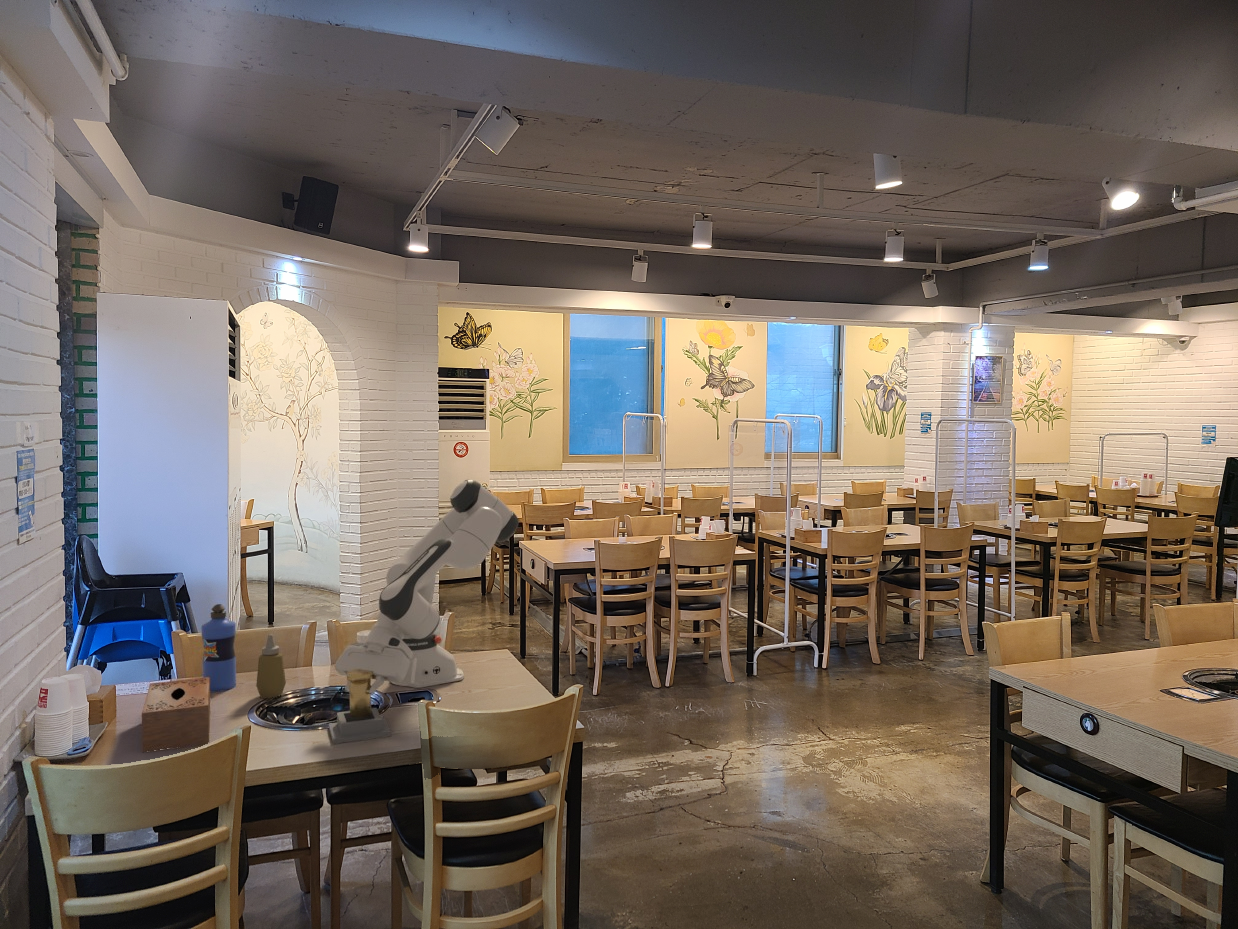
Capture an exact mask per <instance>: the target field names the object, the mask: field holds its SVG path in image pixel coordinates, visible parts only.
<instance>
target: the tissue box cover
mask: <svg viewBox="0 0 1238 929" xmlns="http://www.w3.org/2000/svg"><path fill="white" fill-rule="evenodd" d="M142 708H143V709H142V712H141V730H142V731H141V733H142V734H141V735H142V737H141V738H142V740H141V741H142V744H141V745H142V753H143V752H147V751H154V750H160V749H167V748H175V749H180V748H181V749H182V748H188V747H196V746H204V745H207V744H206V743H208V742H209V743H210V734H209V733H211V732H210V731H211V730H210V729H211V728H210V727H211V692H210V677H204V678H203V677H199V678H198V677H197V678H187V679H179V680H169V681H160V682H159V681H158V682H152V683H151V682H150V683H149V686H148V690H147V693H146V696H145V701H144V705H143V706H142ZM203 744H204V745H203ZM177 747H178V748H177ZM179 747H180V748H179ZM154 752H155V751H154ZM147 753H148V752H147Z"/></svg>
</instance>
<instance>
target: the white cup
mask: <svg viewBox="0 0 1238 929" xmlns="http://www.w3.org/2000/svg"><path fill="white" fill-rule="evenodd" d="M370 631H371V629H366V630H361V631H358V632H356V640H357V641H356V642H358V643H365V641H366V639H367V637H368V635H369V633H370Z"/></svg>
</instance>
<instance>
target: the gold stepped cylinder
mask: <svg viewBox="0 0 1238 929" xmlns="http://www.w3.org/2000/svg"><path fill="white" fill-rule="evenodd" d="M372 678H373V671H369V670H361V669H354V670H350V671H348V672H347V676H346V681H347V680H349V683H350V692H349V711H350V716H351V717H355V718H360V717H366V716H369V715H370V714H371V708H372V695H371V694H368V693H367V692H366V690H367V688H368V686H369V685H372V682H371V680H373V679H372Z"/></svg>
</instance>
